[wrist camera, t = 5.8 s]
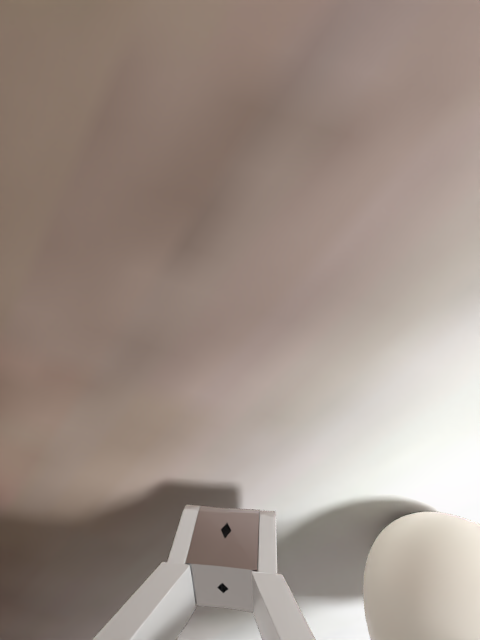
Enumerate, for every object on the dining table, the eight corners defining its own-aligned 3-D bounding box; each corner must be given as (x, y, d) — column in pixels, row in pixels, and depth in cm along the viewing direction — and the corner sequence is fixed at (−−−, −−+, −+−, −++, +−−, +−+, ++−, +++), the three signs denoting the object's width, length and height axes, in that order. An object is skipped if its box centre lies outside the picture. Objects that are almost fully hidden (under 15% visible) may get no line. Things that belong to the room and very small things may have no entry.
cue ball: (914, 987, 4) (580, 508, 8) (514, 910, 4) (392, 476, 8) (550, 793, 7) (454, 540, 11) (354, 757, 7) (328, 518, 11)
